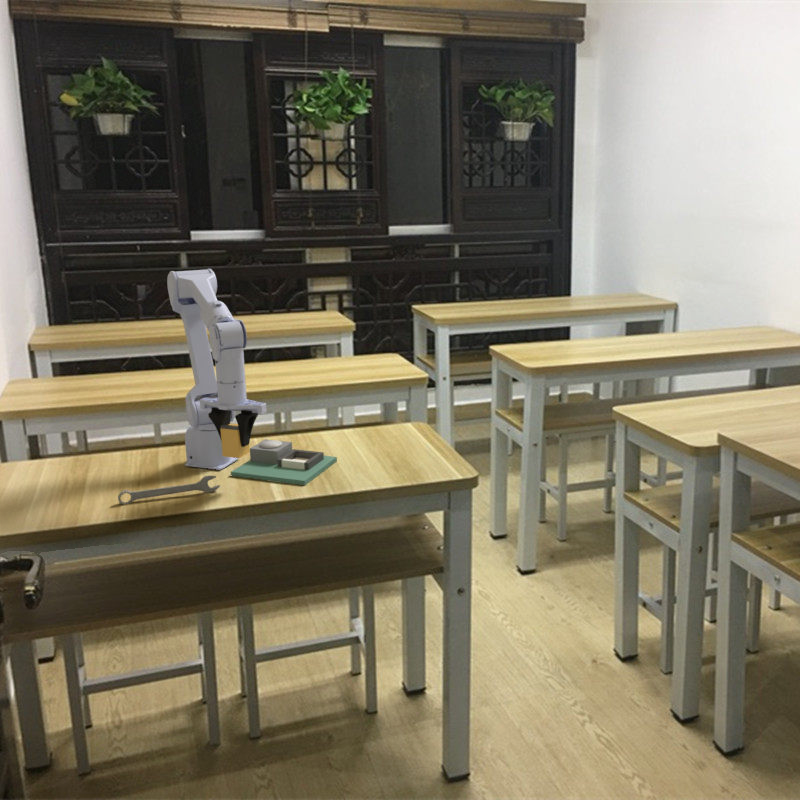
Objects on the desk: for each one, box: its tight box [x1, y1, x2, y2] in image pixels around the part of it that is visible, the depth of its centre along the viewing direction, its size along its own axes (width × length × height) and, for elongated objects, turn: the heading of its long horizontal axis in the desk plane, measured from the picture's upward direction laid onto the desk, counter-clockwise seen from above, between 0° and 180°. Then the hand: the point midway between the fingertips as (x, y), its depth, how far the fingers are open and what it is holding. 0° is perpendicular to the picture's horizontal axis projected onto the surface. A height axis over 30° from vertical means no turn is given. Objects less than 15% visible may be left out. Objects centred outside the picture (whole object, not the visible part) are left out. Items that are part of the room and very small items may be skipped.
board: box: [230, 439, 338, 486], centre depth 177 cm, size 18×16×4 cm
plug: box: [221, 422, 250, 459], centre depth 164 cm, size 4×4×7 cm
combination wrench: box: [117, 475, 221, 505], centre depth 161 cm, size 4×1×20 cm
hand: (235, 444), depth 164 cm, fingers closed on plug, 4 cm apart
